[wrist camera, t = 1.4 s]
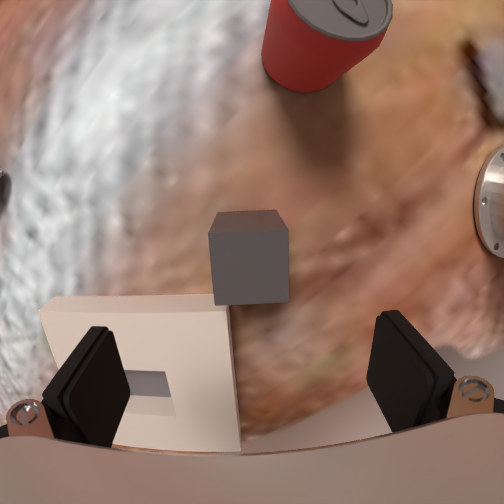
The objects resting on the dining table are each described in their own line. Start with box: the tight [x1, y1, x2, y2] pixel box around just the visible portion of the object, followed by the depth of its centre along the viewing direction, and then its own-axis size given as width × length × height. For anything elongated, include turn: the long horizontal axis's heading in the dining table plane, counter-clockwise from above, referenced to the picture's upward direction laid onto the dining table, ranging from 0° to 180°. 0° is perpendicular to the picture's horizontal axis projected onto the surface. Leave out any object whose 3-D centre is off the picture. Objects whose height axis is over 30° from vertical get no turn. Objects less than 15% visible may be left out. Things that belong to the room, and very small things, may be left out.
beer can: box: [261, 0, 393, 93], centre depth 17 cm, size 7×7×12 cm
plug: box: [208, 210, 289, 306], centre depth 23 cm, size 5×5×8 cm
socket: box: [38, 293, 241, 452], centre depth 29 cm, size 18×18×4 cm
